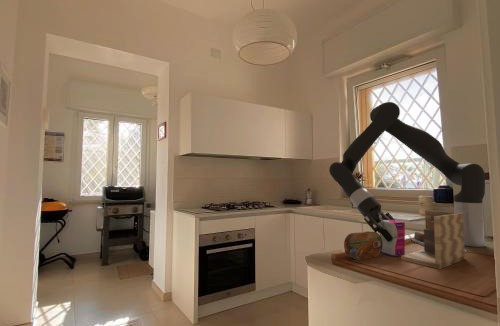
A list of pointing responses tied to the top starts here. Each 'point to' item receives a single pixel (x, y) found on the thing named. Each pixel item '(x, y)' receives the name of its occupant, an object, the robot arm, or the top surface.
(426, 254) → the wooden bookend
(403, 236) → the supplement box
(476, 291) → the top surface
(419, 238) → the packaged product
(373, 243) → the tin
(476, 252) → the top surface
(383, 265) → the top surface
